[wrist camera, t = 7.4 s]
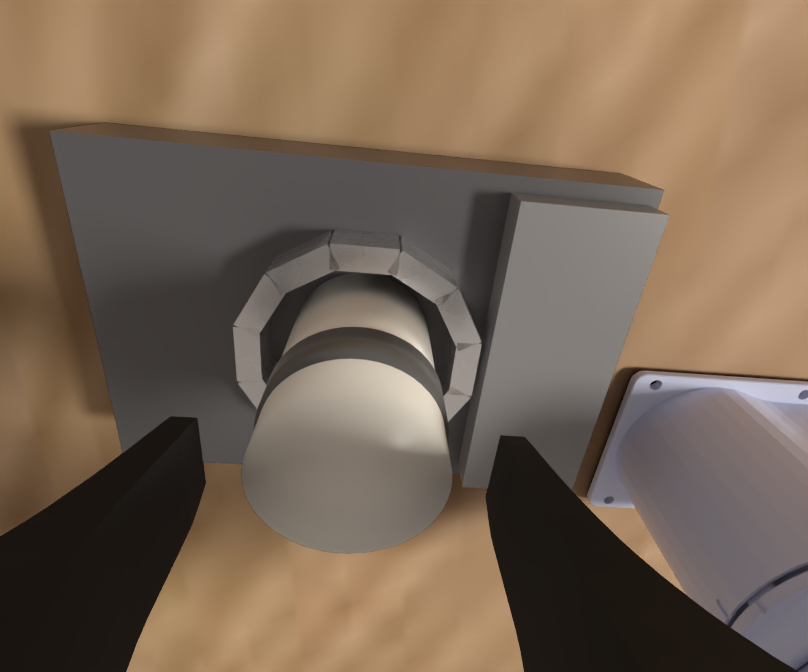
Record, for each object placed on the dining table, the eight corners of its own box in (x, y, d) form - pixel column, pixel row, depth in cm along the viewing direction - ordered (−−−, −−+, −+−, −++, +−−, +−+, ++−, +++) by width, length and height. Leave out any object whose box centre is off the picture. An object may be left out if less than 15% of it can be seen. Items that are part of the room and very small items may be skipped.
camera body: (621, 173, 17) (686, 198, 14) (544, 434, 23) (575, 502, 19) (104, 122, 16) (20, 134, 12) (156, 412, 22) (108, 480, 18)
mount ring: (489, 242, 15) (498, 257, 14) (453, 434, 19) (458, 460, 18) (240, 220, 15) (225, 234, 13) (252, 423, 18) (242, 449, 17)
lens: (443, 281, 16) (480, 408, 10) (416, 399, 18) (432, 564, 12) (298, 258, 15) (239, 378, 9) (287, 382, 18) (234, 546, 11)
